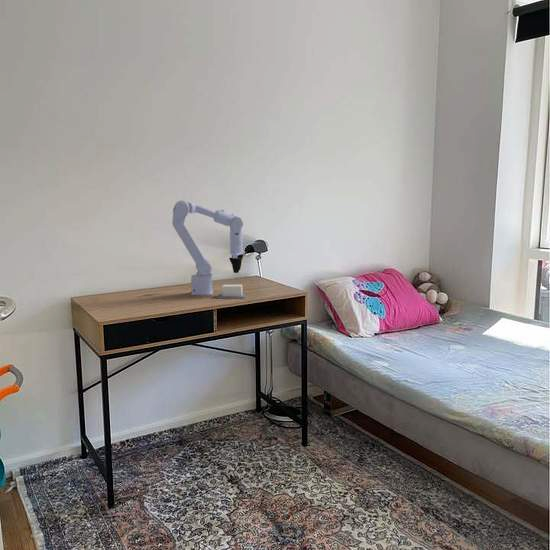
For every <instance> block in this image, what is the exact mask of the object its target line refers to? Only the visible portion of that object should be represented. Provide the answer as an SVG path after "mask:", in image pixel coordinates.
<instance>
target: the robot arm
mask: <svg viewBox="0 0 550 550" xmlns="http://www.w3.org/2000/svg"><path fill="white" fill-rule="evenodd" d="M189 213H190V214H195V213H197V214H200V215H204V216H206V217H210V218H213V219H212V220H213V221H214V222H215V223H217V224H220V225H223V226H226V227H229V245H230V246H229V248H230V249H229V250H230V251H229V254H230V255H231V257H229V259H228V260H229V261H230V263H231V266H232V271H233V273H234V274H239V271H241V267H242V262H243V259H244V255H245V254H246V251H243V246H244V245H243V229H242V228H243V226H244V221H243V220H242V218H241V217H239V216H237V215H235V214H233V213H228V212H226V211H225V210H224V209H221V210H220V209H217V210H212V209H209V208H208V207H205V206H202V205H199V204H197V203H194V202H189V201H187V202H186V201H184V200H178V201H177V202H176V203H175V204H174V207H173V209H172V222H171V223H172V226H173V228H174V230H175V232H176V233H177V235H178V236H179V238H180V240H181V241H182V243H183V244H184V247H185V248H186V249H187V252H188V254H189V255H190V256H191V257H192V258H191V259H192V260H193V261H194V263H195V268H196V270H197V271H196V273H195V274H191V278H190V287H191V288H190V289H191V296H212V295H214V292H215V290H213V277H212V275H213V274H212V265H211V264H210V262H209V261H208V260H207V259H205V257H203V254H202V252H201V251H200V249H199V248H198V246H197V244H196V243H195V241H194V239H193V237H192V236H191V234H190V233H189V231H188V229H187V227H186V226H185V224H184V223H185V220H186V217H187V216H188V214H189Z"/></svg>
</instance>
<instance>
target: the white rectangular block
mask: <svg viewBox="0 0 550 550" xmlns="http://www.w3.org/2000/svg"><path fill="white" fill-rule="evenodd" d="M221 288H222V293H223V296H242V293H243V284H222V287H221Z"/></svg>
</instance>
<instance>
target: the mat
mask: <svg viewBox="0 0 550 550" xmlns="http://www.w3.org/2000/svg"><path fill="white" fill-rule="evenodd" d="M246 294H247V293H246V292H242V296H223V292H222V293H219V294H218V295H217V297H216V298H217V299H245V297H246Z"/></svg>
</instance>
